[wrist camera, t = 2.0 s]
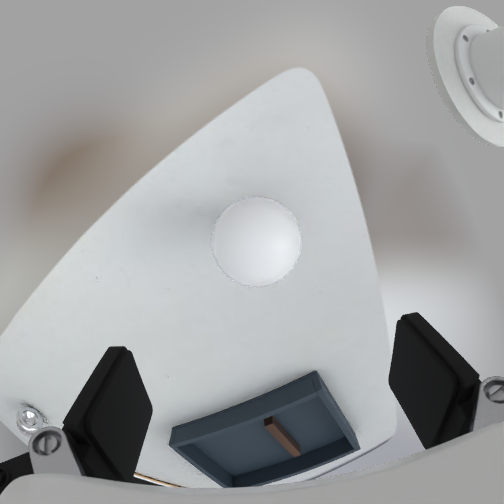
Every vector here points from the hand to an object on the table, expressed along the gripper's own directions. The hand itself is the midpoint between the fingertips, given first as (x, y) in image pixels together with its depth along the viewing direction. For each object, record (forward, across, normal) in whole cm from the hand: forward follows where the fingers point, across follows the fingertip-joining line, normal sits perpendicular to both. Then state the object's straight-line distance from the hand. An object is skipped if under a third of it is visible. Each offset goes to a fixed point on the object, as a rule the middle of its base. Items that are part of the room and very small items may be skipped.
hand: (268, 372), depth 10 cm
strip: (+21, -1, +28) cm, 35 cm away
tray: (+21, +1, +29) cm, 35 cm away
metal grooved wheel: (+21, +40, +26) cm, 52 cm away
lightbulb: (+21, 0, -1) cm, 21 cm away
